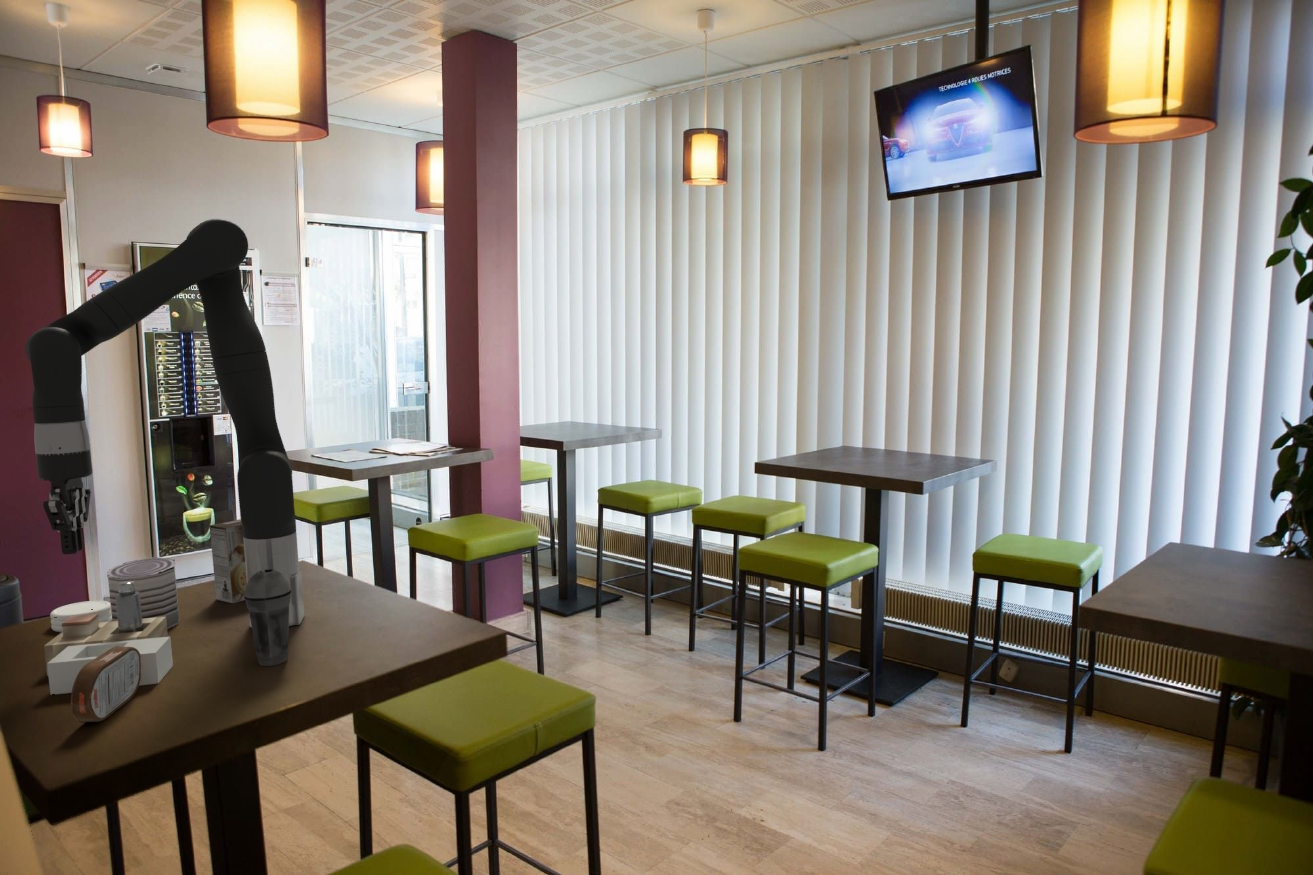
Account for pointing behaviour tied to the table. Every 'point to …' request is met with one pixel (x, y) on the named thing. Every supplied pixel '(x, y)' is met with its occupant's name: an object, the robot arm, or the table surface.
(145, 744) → the table surface
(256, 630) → the beverage cup
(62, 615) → the white round container
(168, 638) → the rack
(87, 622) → the key
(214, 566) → the coffee box
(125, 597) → the stepped metal cylinder
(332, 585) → the table surface
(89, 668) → the tin
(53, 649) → the socket block
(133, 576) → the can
